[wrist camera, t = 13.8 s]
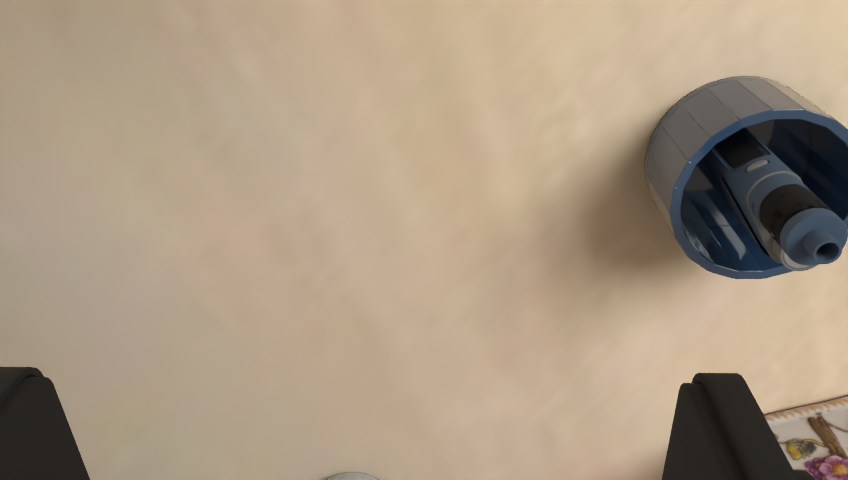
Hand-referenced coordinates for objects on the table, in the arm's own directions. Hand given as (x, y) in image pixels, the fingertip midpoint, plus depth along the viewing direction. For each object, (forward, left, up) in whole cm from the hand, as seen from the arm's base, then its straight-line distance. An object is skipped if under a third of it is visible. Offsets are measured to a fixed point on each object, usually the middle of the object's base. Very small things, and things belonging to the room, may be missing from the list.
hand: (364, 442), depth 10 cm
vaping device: (+7, +16, -28) cm, 33 cm away
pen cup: (+7, +16, -28) cm, 33 cm away
